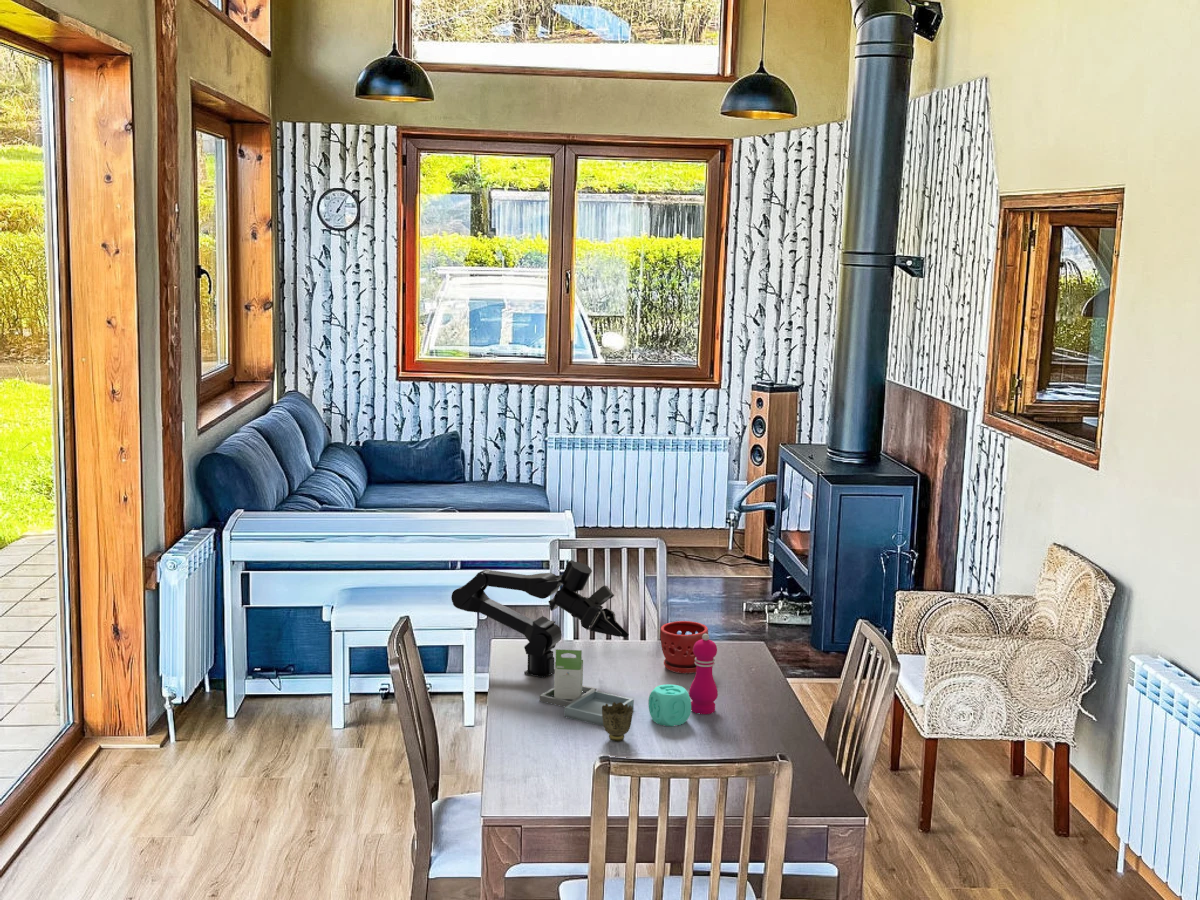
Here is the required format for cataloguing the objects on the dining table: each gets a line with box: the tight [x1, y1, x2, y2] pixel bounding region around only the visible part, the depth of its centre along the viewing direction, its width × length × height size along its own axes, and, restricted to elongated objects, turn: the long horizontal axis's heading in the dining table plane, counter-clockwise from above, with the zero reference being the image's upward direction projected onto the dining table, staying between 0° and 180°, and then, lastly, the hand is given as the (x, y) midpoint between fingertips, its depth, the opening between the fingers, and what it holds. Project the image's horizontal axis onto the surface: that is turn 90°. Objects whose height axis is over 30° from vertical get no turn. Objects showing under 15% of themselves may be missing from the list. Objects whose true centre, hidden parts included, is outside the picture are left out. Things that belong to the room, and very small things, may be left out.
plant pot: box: [659, 620, 709, 675], centre depth 352 cm, size 13×13×12 cm
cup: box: [602, 702, 634, 743], centre depth 301 cm, size 8×7×8 cm
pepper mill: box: [688, 633, 719, 715], centre depth 321 cm, size 7×7×20 cm
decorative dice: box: [648, 683, 692, 727], centre depth 314 cm, size 8×8×8 cm
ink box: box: [553, 648, 584, 701], centre depth 327 cm, size 7×4×13 cm, turn 84°
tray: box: [563, 690, 635, 727], centre depth 318 cm, size 12×15×2 cm
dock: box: [539, 684, 598, 707], centre depth 328 cm, size 10×13×2 cm
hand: (624, 635), depth 335 cm, fingers open, 9 cm apart
